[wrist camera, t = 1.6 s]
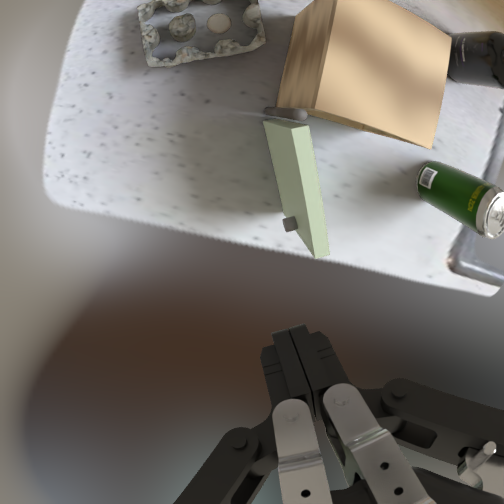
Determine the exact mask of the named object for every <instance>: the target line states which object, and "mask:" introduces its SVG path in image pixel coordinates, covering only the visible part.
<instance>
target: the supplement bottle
mask: <svg viewBox="0 0 504 504" xmlns="http://www.w3.org/2000/svg"><path fill="white" fill-rule="evenodd" d="M448 36H450V37H451V38H452V41H451V49H450V57H449V64H448V71H447V73H448V75H449V76H450V77H451V78H452V79H453V80H455V81H456V82H458V83H462V84H469V85H478V86H485V87H492V88H499V89H504V34H503V33H501V32H496V31H485V32H465V33H453V34H449V35H448Z"/></svg>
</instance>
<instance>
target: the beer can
mask: <svg viewBox="0 0 504 504" xmlns="http://www.w3.org/2000/svg"><path fill="white" fill-rule="evenodd" d="M416 188H417V191H418V193H419V195H420V197H421V198H422V199H423V200H424V201H425V202H427V203H429V204H431V205H432V206H434V207H436V208H437V209H439V210H441V211H443V212H444V213H446V214H448V215H449V216H451V217H452V218H454V219H456V220H457V221H459V222H461V223H462V224H464V225H465V226H467V227H468V228H470V229H472V230H473V231H475V232H476V233H478V234H479V235H481V236H482V237H488V238H490V239H495V238H497V237H499V236H500V235H501V234H502V233H503V232H504V191H503V190H502V189H501V188H500V187H498V186H496V185H493V184H491V183H489V182H487V181H485V180H482V179H480V178H478V177H476V176H473V175H471V174H468V173H466V172H464V171H461V170H459V169H456V168H454V167H451V166H449V165H446V164H443V163H441V162H437V161H433V162H429V163H426V164H425V165H424V166H422V167H421V169H420V170H419V172H418V174H417V178H416Z"/></svg>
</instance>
